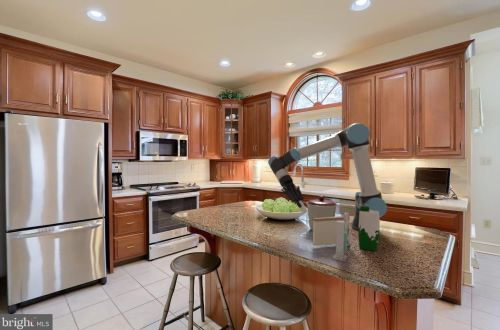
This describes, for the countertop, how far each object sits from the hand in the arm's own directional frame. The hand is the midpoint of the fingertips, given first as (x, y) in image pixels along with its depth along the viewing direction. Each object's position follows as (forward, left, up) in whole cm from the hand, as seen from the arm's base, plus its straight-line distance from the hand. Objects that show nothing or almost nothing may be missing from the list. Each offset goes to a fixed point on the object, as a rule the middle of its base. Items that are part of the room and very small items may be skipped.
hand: (305, 212), depth 134 cm
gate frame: (-18, +13, -15) cm, 26 cm away
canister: (-9, -20, -15) cm, 27 cm away
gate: (-11, +8, -13) cm, 19 cm away
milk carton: (-30, +5, -15) cm, 34 cm away
